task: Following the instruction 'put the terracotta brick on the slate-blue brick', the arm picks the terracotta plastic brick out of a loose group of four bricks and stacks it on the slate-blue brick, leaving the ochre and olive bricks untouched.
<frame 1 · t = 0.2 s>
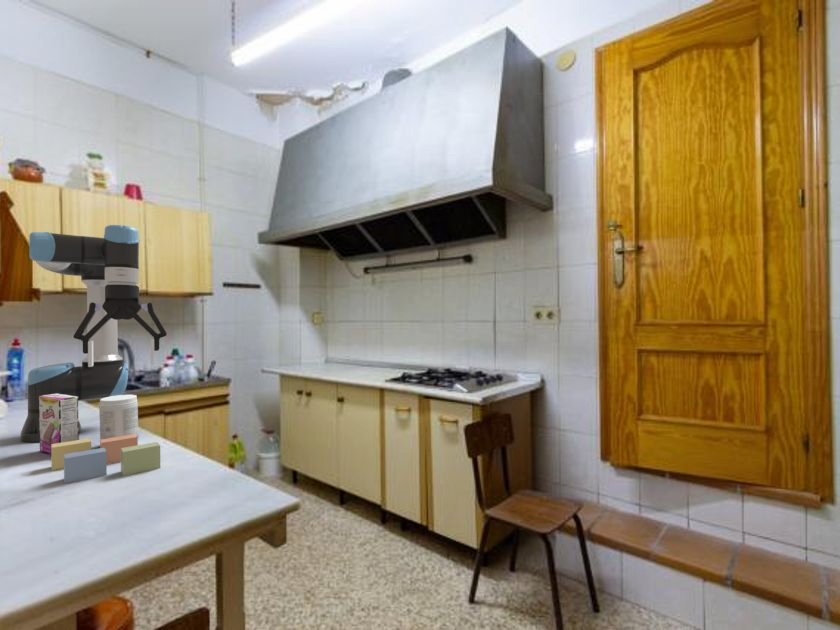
hand: (122, 364, 115), 26 cm above the table, tool pointing down, fingers open, 13 cm apart
slate-blue brick: (85, 477, 106), on the table
terracotta brick: (119, 460, 119), on the table
supplement tub: (119, 446, 132), on the table
ochre brick: (71, 465, 115), on the table
olive brick: (140, 470, 111), on the table
candy bar box: (59, 453, 125), on the table
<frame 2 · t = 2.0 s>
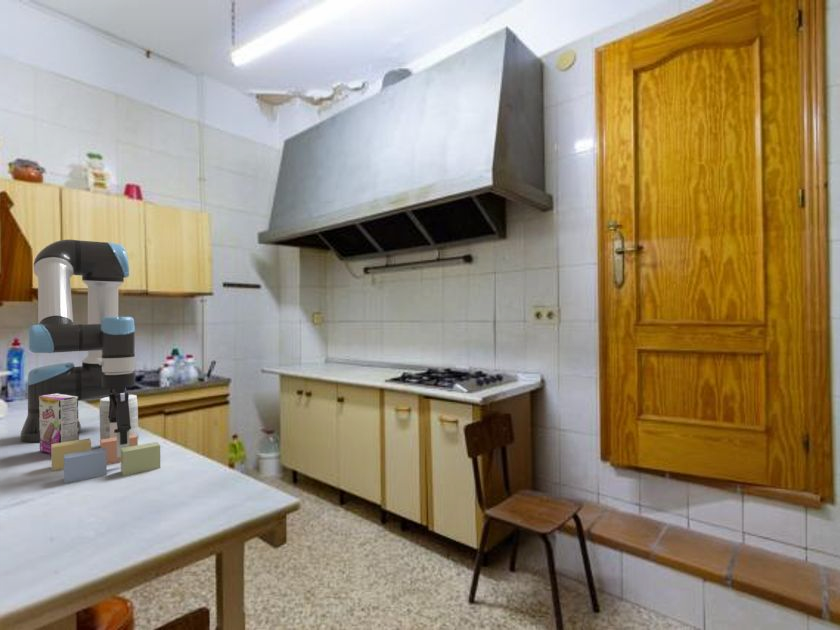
hand: (119, 450, 118), 3 cm above the table, tool pointing down, fingers open, 13 cm apart
nothing on the table moved.
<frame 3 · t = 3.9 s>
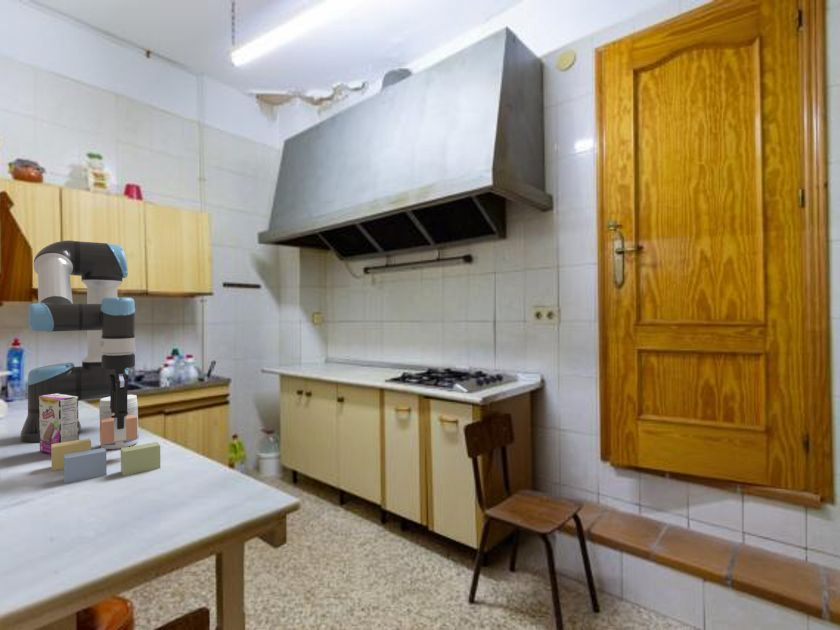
hand: (118, 438, 119), 6 cm above the table, tool pointing down, fingers closed on terracotta brick, 4 cm apart
terracotta brick: (118, 439, 119), point 5 cm above the table, touching gripper
everything else where it was.
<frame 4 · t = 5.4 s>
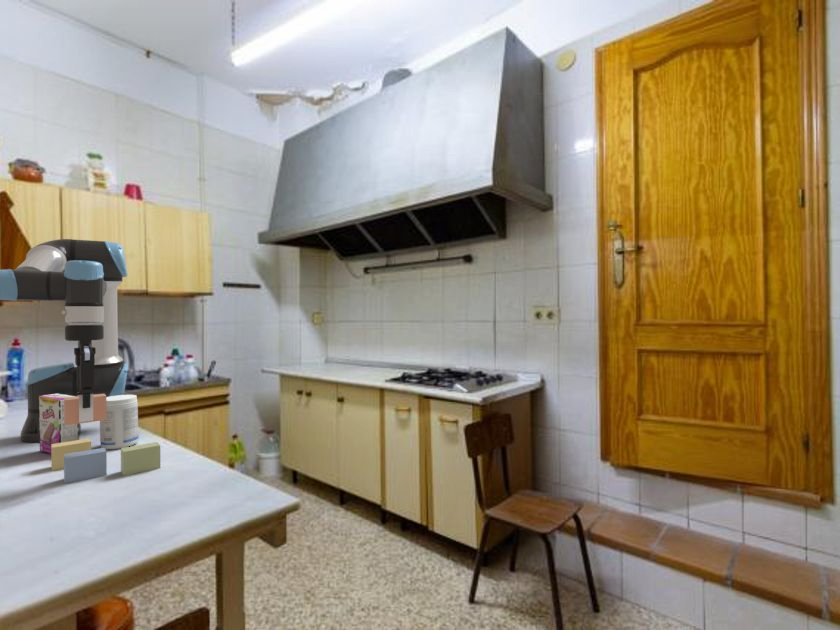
hand: (85, 419, 106), 14 cm above the table, tool pointing down, fingers closed on terracotta brick, 4 cm apart
terracotta brick: (85, 421, 106), point 14 cm above the table, touching gripper
everything else where it was.
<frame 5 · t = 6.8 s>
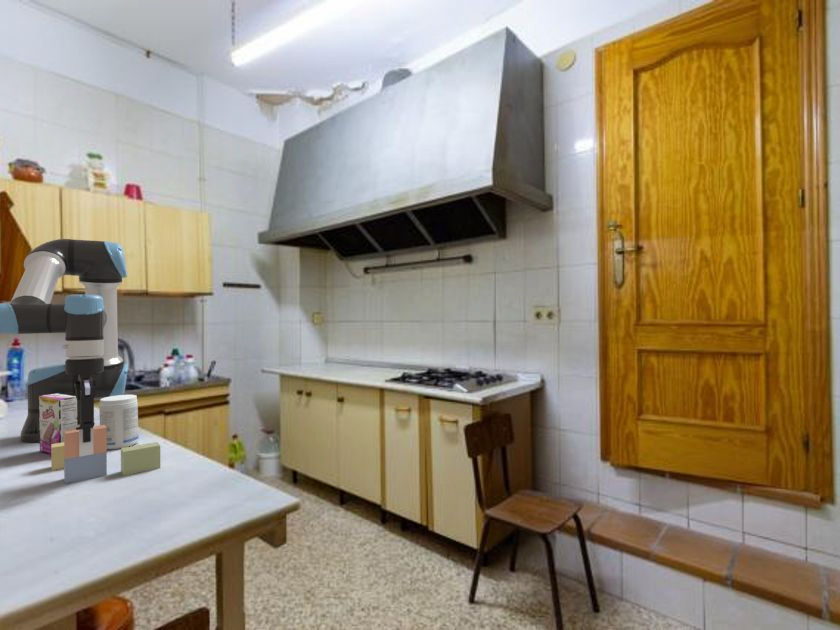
hand: (85, 452, 106), 6 cm above the table, tool pointing down, fingers closed on terracotta brick, 4 cm apart
slate-blue brick: (85, 477, 106), on the table, touching gripper
terracotta brick: (85, 453, 106), point 6 cm above the table, touching gripper
everything else where it was.
when the fingers open (6 cm above the table, at t = 7.1 s): terracotta brick stays where it is, resting on slate-blue brick.
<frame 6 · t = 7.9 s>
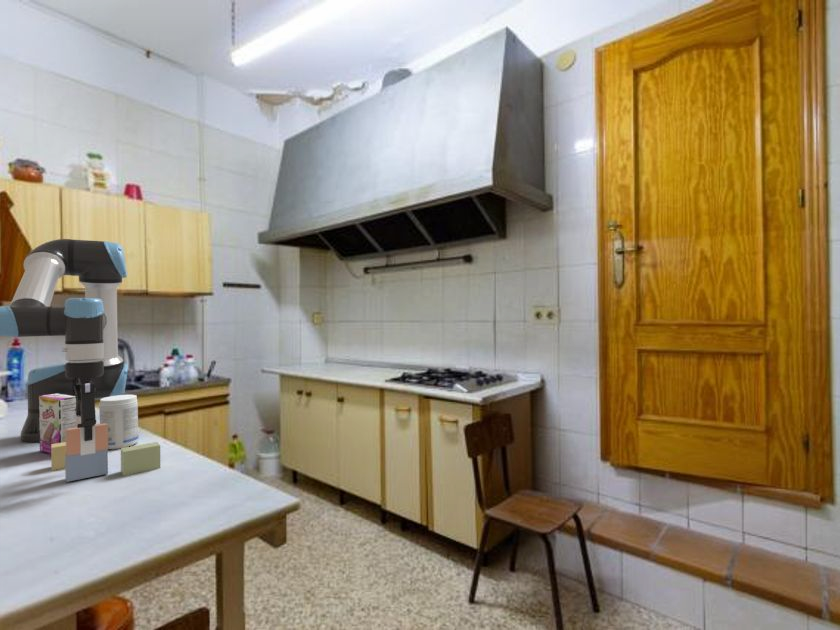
hand: (85, 447, 106), 7 cm above the table, tool pointing down, fingers open, 13 cm apart
slate-blue brick: (86, 476, 106), on the table, tilted 6°, touching terracotta brick
terracotta brick: (87, 451, 107), point 6 cm above the table, tilted 6°, touching slate-blue brick
everything else where it was.
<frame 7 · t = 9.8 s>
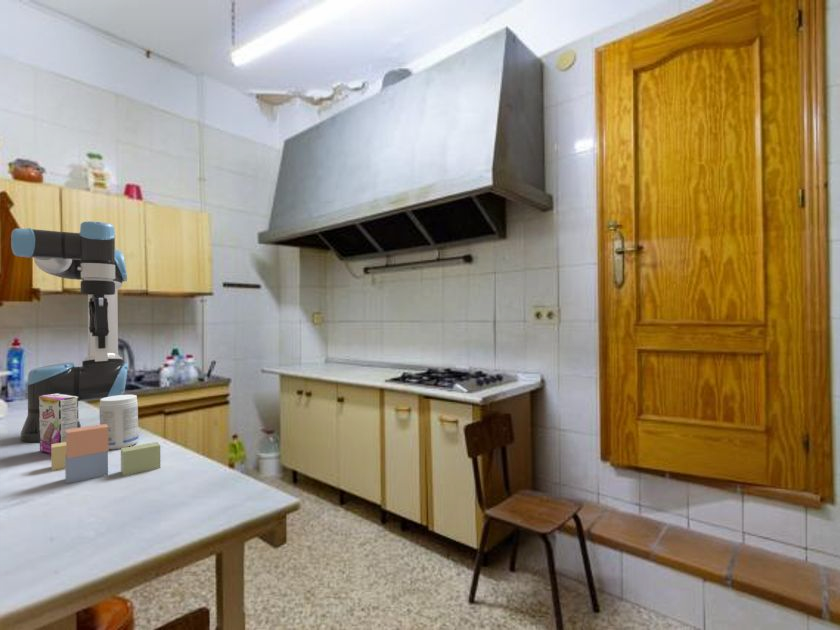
hand: (98, 358, 118), 28 cm above the table, tool pointing down, fingers open, 13 cm apart
slate-blue brick: (86, 477, 106), on the table, touching terracotta brick
terracotta brick: (87, 452, 106), point 6 cm above the table, touching slate-blue brick
everything else where it was.
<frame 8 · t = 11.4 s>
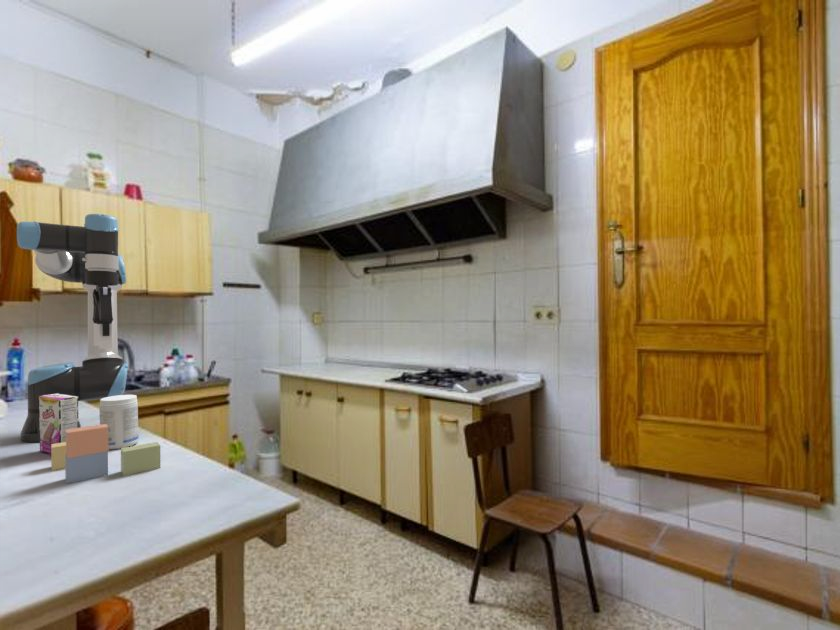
hand: (102, 347, 121), 31 cm above the table, tool pointing down, fingers open, 13 cm apart
nothing on the table moved.
at the end: terracotta brick 0.2 cm off-centre on the slate-blue brick, point 6.0 cm above the slate-blue brick's base; ochre brick moved 0.1 cm from its start; olive brick moved 0.1 cm from its start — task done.
